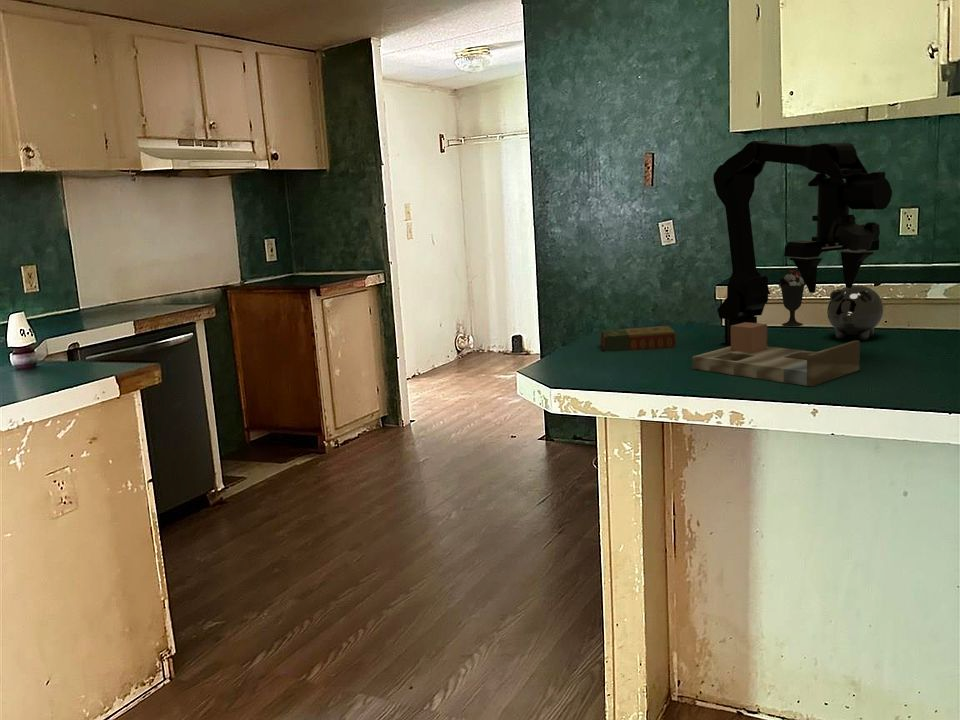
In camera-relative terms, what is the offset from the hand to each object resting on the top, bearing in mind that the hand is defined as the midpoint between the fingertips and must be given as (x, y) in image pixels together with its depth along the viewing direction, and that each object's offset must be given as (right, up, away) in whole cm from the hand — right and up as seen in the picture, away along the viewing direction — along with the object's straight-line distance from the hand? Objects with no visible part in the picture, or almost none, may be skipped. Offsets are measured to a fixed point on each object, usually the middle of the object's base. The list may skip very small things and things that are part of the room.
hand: (830, 290), depth 162 cm
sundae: (+8, -5, +41) cm, 43 cm away
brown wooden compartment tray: (-13, -16, -4) cm, 20 cm away
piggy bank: (+14, -9, +21) cm, 27 cm away
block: (-15, -12, +4) cm, 19 cm away
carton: (-33, -11, +28) cm, 45 cm away
